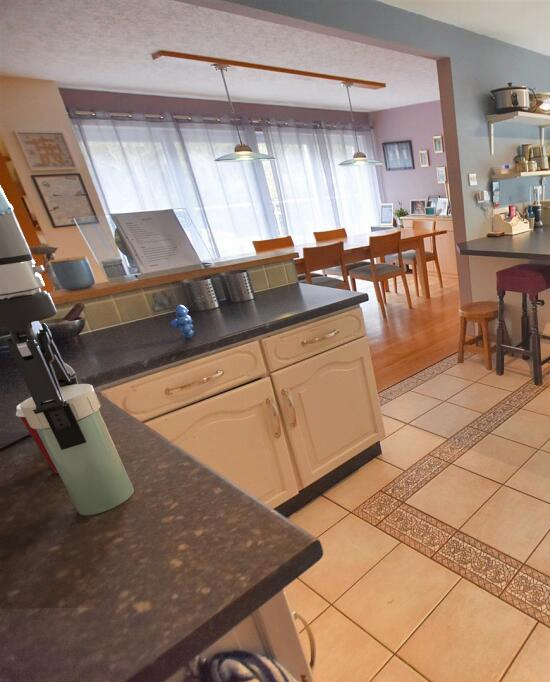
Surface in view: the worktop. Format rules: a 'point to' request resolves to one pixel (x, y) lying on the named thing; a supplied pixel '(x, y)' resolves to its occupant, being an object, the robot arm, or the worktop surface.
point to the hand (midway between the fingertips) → (75, 434)
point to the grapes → (183, 322)
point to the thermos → (90, 467)
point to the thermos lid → (77, 397)
